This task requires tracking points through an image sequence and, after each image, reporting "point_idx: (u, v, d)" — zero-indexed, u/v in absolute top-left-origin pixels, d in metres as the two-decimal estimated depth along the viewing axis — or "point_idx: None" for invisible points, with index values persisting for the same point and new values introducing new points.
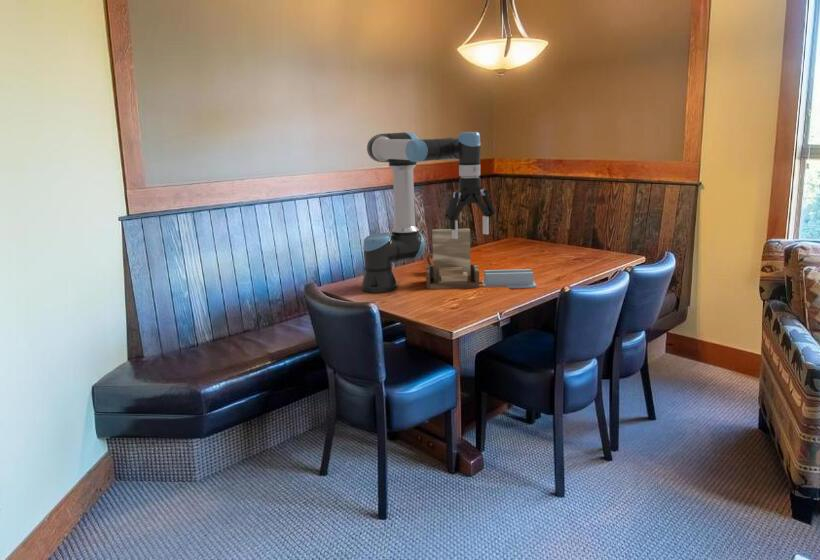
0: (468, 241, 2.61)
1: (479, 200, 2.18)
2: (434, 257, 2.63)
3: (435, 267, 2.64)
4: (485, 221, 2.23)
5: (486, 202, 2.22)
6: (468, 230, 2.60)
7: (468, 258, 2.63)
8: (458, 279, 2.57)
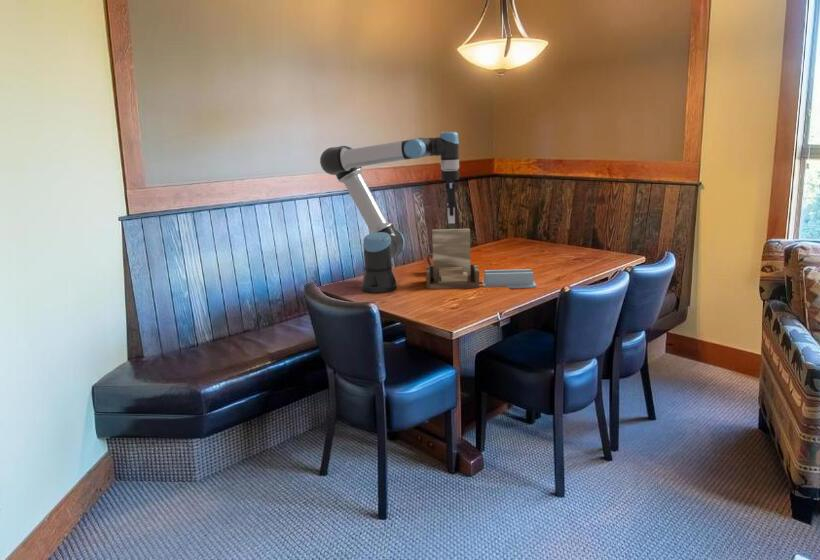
0: (468, 241, 2.61)
1: (446, 191, 2.54)
2: (434, 257, 2.63)
3: (435, 267, 2.64)
4: None
5: None
6: (468, 230, 2.60)
7: (468, 258, 2.63)
8: (458, 279, 2.57)
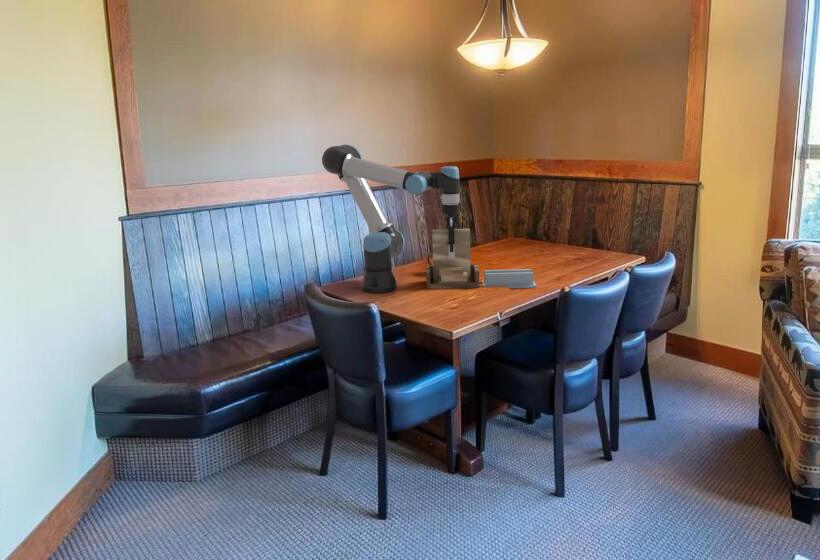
0: (468, 241, 2.61)
1: (447, 225, 2.59)
2: (434, 257, 2.63)
3: (435, 267, 2.64)
4: None
5: None
6: (468, 230, 2.60)
7: (468, 258, 2.63)
8: (458, 279, 2.57)
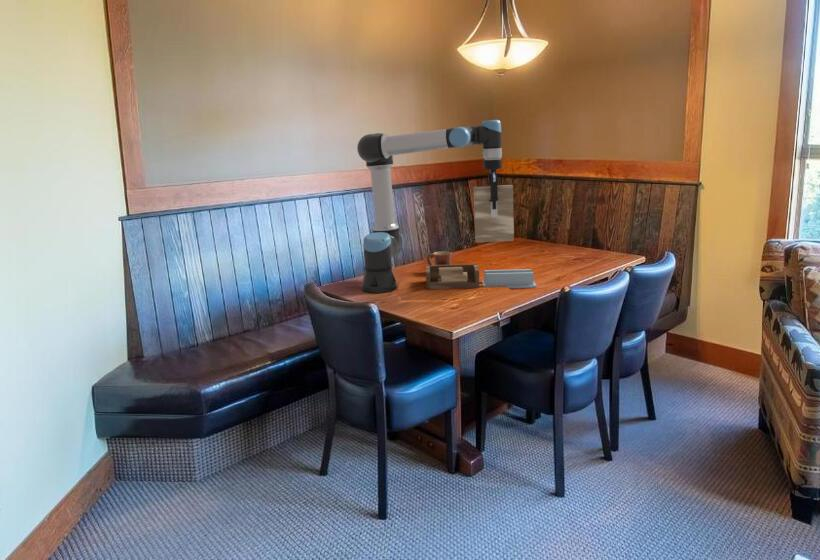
0: (511, 198, 2.52)
1: (489, 181, 2.51)
2: (476, 215, 2.55)
3: (477, 226, 2.56)
4: None
5: None
6: (511, 186, 2.51)
7: (511, 215, 2.54)
8: (458, 279, 2.57)
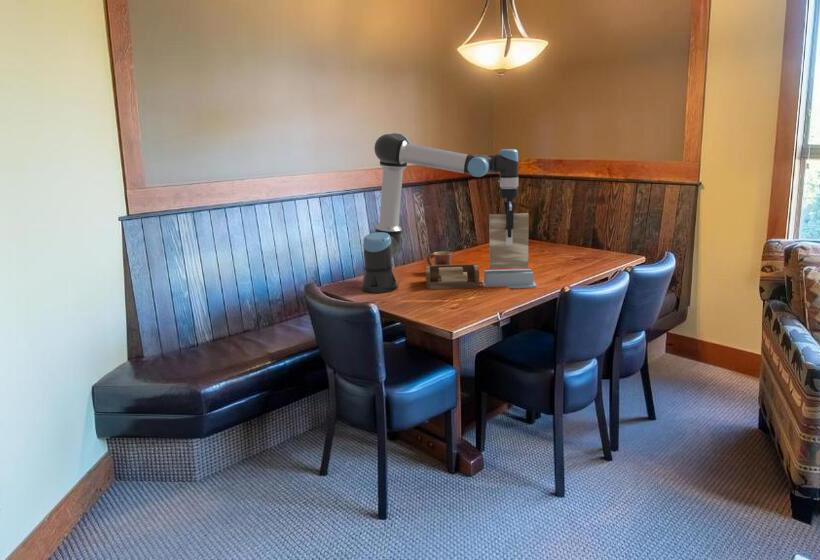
0: (526, 226, 2.54)
1: (505, 209, 2.52)
2: (491, 243, 2.56)
3: (491, 253, 2.57)
4: None
5: None
6: (527, 215, 2.53)
7: (526, 244, 2.56)
8: (458, 279, 2.57)
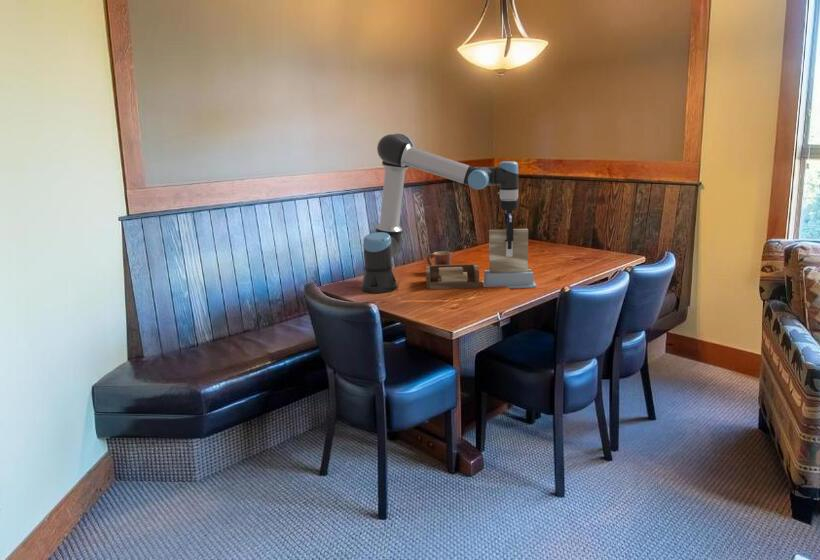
0: (526, 241, 2.56)
1: (505, 221, 2.53)
2: (491, 258, 2.58)
3: (491, 268, 2.59)
4: None
5: None
6: (526, 230, 2.54)
7: (526, 259, 2.57)
8: (458, 279, 2.57)
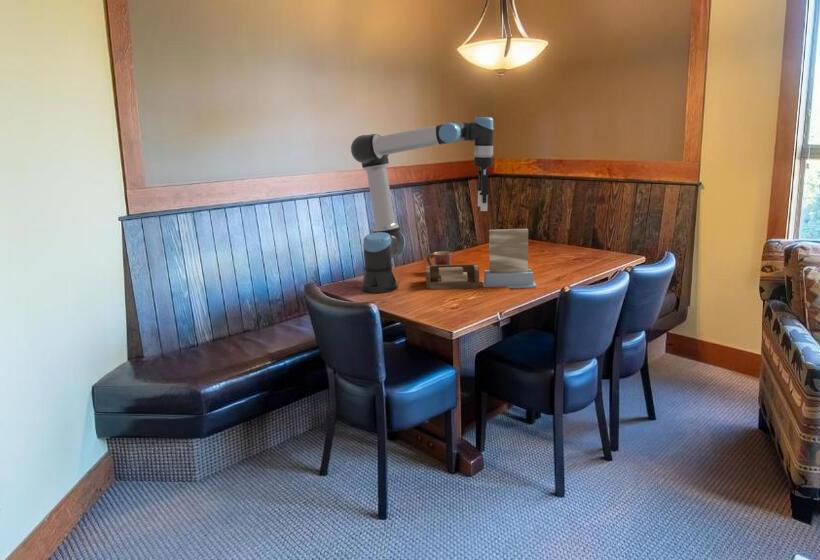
0: (526, 241, 2.55)
1: (479, 177, 2.48)
2: (491, 258, 2.58)
3: (491, 268, 2.59)
4: None
5: None
6: (526, 230, 2.54)
7: (526, 259, 2.57)
8: (458, 279, 2.57)
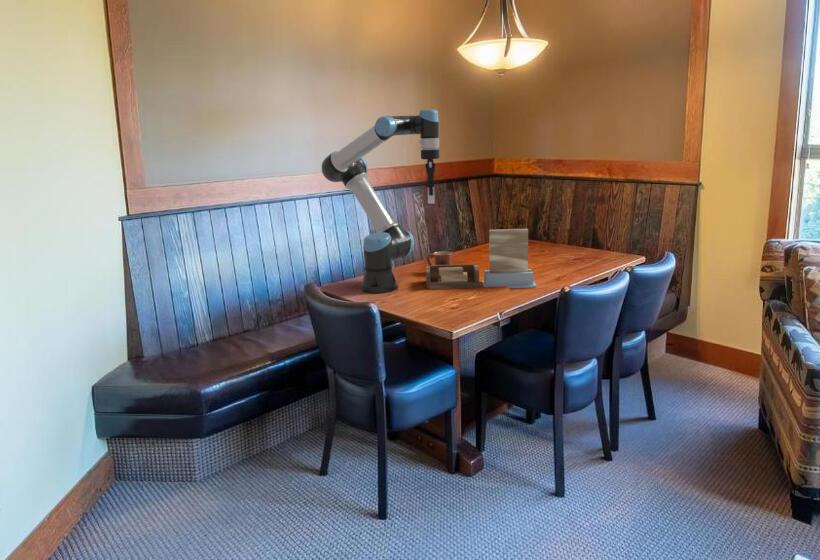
0: (526, 241, 2.55)
1: (426, 170, 2.48)
2: (491, 258, 2.58)
3: (491, 268, 2.59)
4: None
5: None
6: (526, 230, 2.54)
7: (526, 259, 2.57)
8: (458, 279, 2.57)
